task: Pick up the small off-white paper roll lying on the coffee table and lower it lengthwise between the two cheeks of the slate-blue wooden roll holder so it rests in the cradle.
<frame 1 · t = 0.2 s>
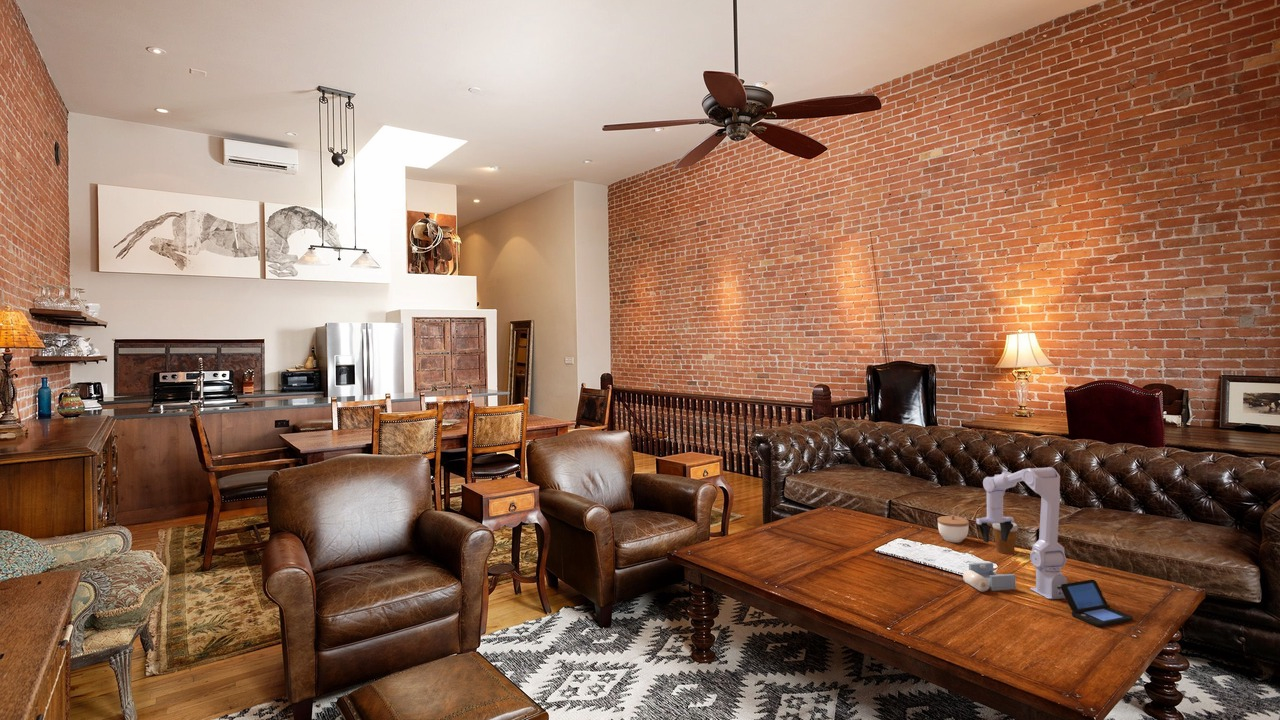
hand: (995, 541, 253), 10 cm above the table, fingers open, 7 cm apart
game console: (1096, 616, 208), on the table
roll: (976, 587, 233), on the table
disposable coffee cup: (1005, 552, 270), on the table
lidded bowl: (953, 540, 286), on the table
holder: (991, 582, 237), on the table
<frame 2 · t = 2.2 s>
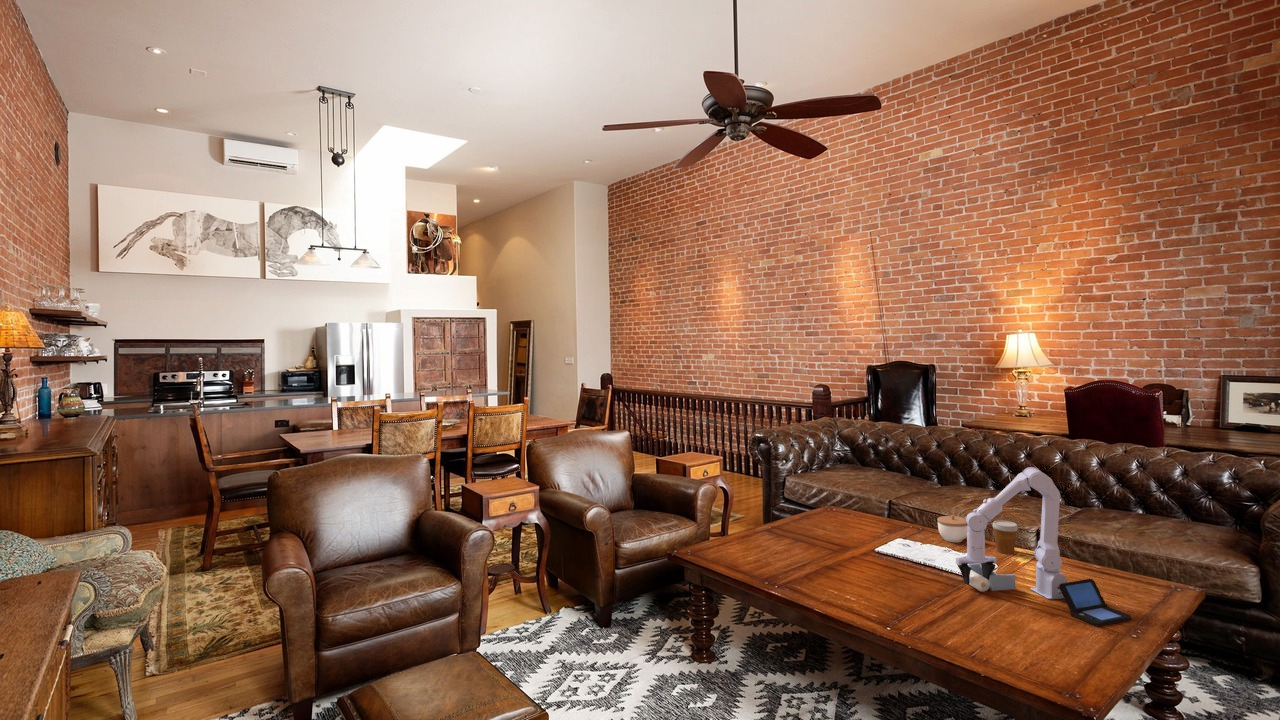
hand: (976, 582, 233), 2 cm above the table, fingers open, 7 cm apart
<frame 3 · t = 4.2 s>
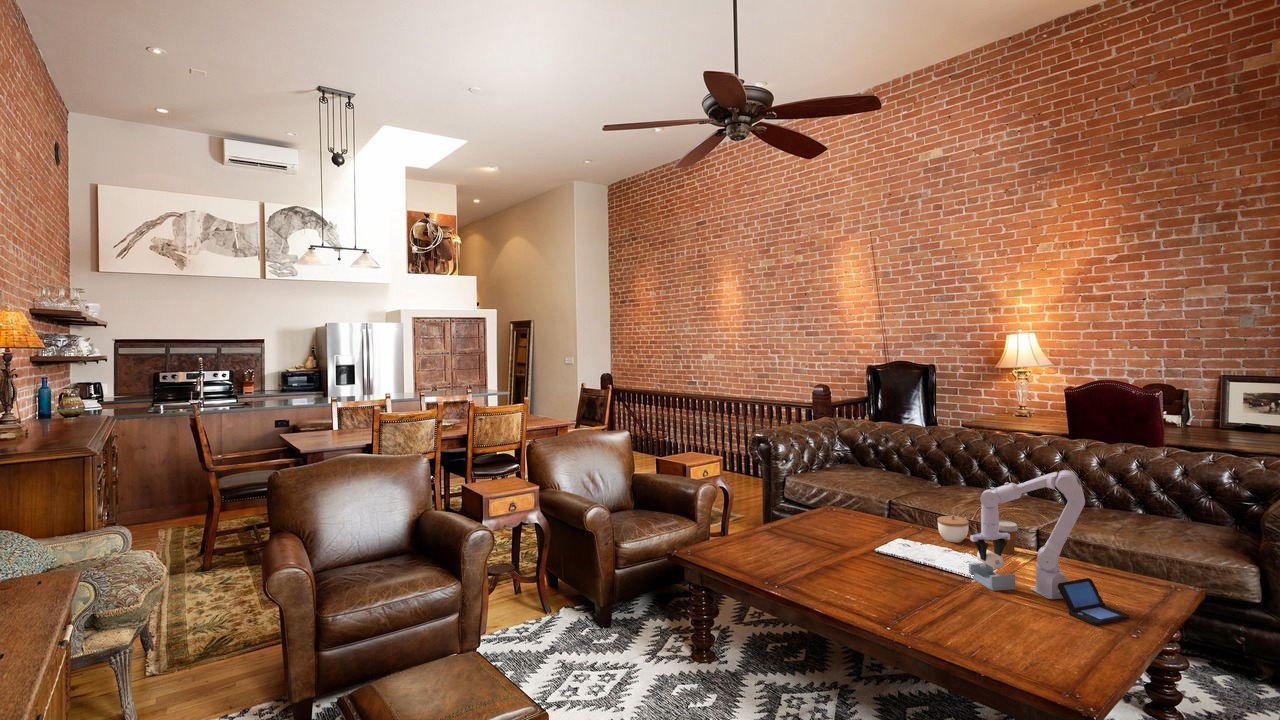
hand: (990, 559, 236), 9 cm above the table, fingers closed on roll, 5 cm apart
roll: (988, 565, 236), point 7 cm above the table, tilted 12°, touching gripper
when the fingers open (3 cm above the table, at t = 5.8 s): roll stays where it is, resting on holder.
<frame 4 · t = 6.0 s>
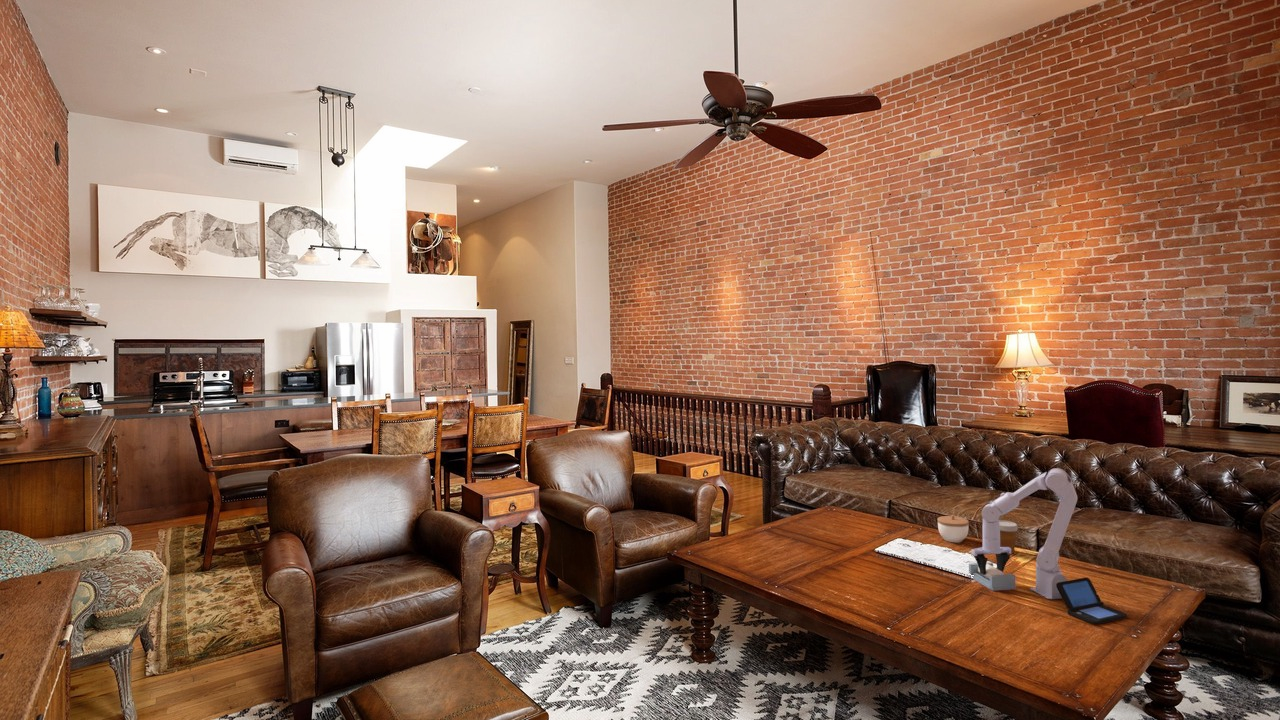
hand: (991, 573, 237), 3 cm above the table, fingers open, 6 cm apart
roll: (990, 579, 237), point 1 cm above the table, tilted 10°, touching holder
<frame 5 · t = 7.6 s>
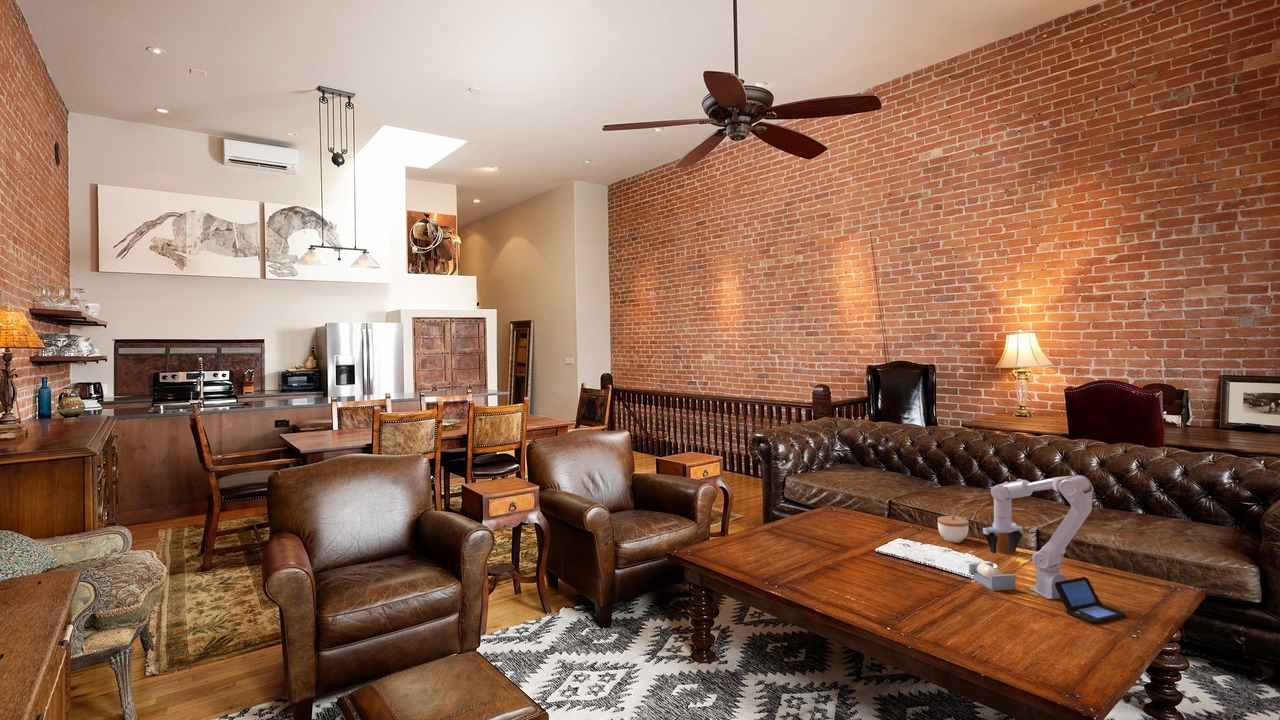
hand: (1002, 552, 239), 10 cm above the table, fingers open, 7 cm apart
roll: (990, 579, 237), point 1 cm above the table, touching holder
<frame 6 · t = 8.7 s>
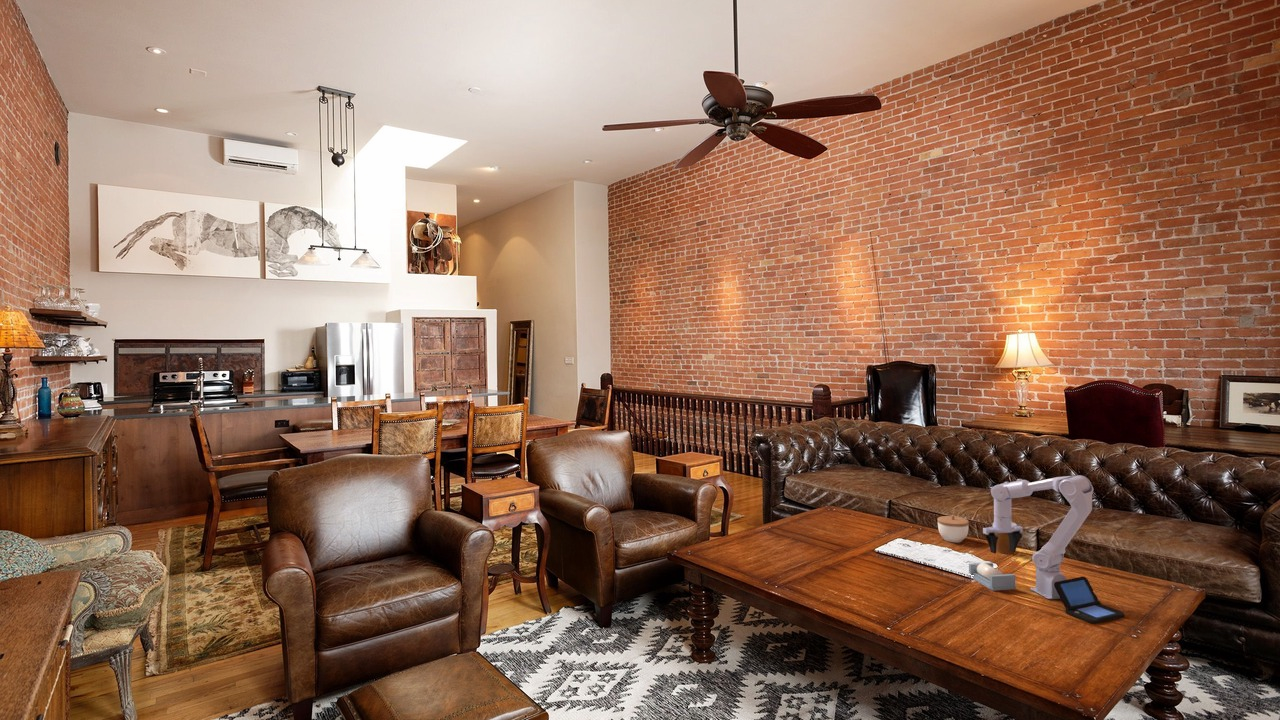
hand: (1002, 552, 239), 10 cm above the table, fingers open, 7 cm apart
at the end: roll 0.5 cm off-centre on the holder, point 1.0 cm above the holder's base; the gripper is holding nothing; roll touching holder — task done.
